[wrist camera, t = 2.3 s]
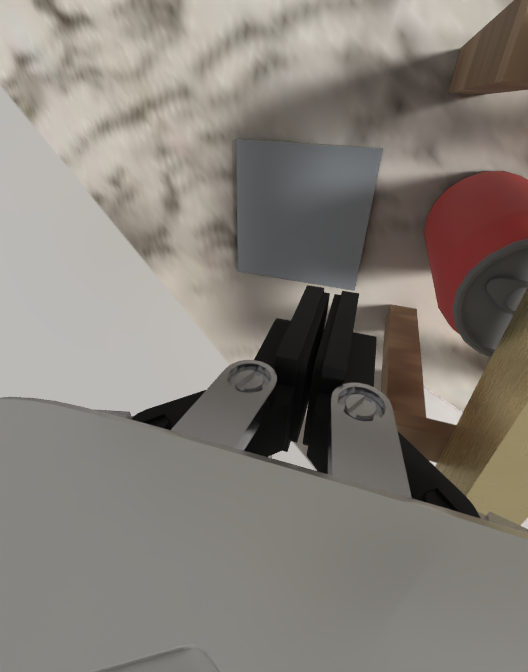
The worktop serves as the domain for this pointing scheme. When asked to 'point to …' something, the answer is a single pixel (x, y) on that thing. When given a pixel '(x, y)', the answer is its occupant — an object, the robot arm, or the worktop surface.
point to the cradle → (402, 324)
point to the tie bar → (496, 430)
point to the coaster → (304, 209)
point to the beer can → (480, 254)
